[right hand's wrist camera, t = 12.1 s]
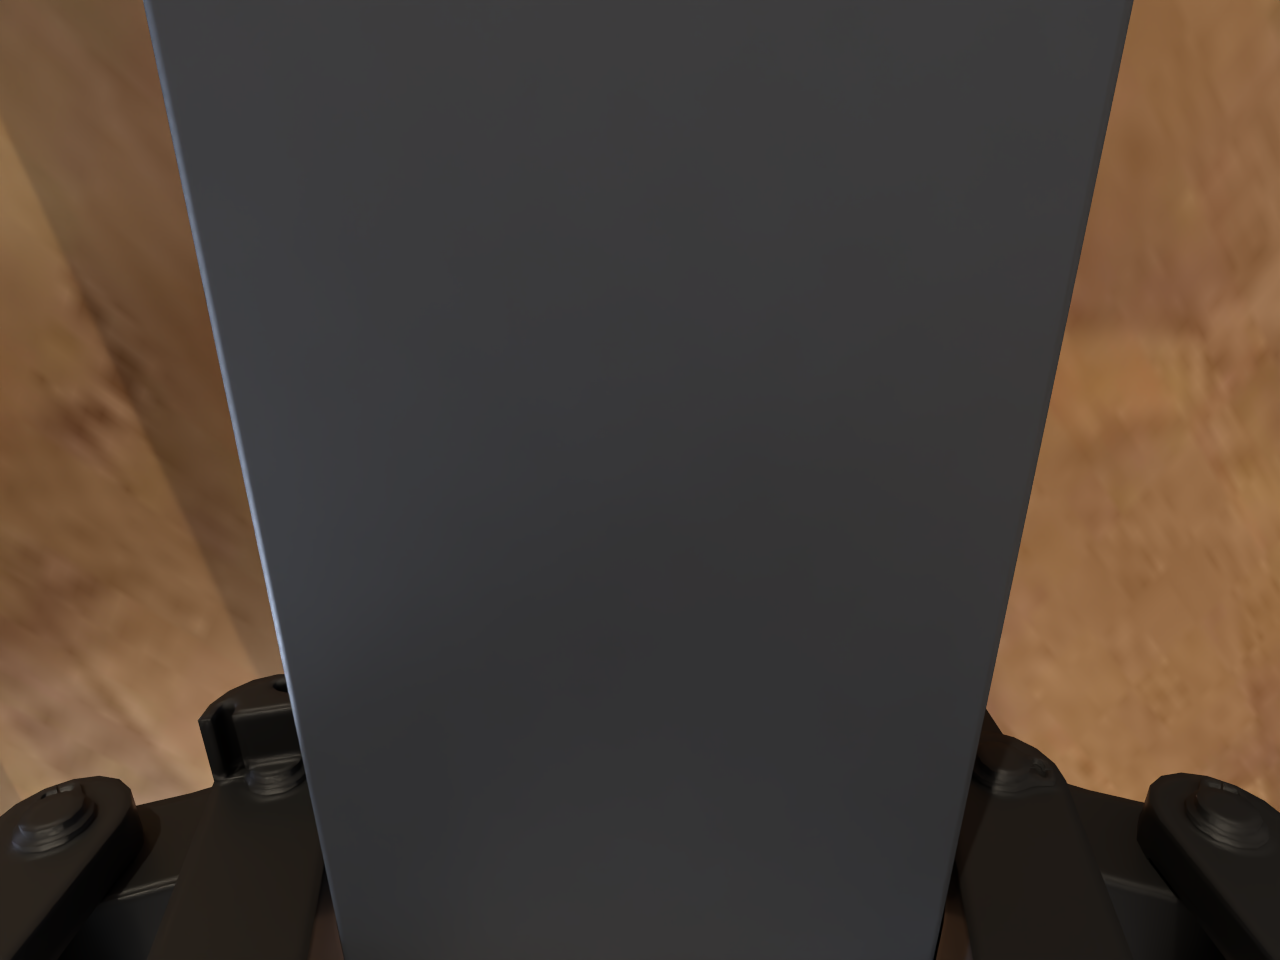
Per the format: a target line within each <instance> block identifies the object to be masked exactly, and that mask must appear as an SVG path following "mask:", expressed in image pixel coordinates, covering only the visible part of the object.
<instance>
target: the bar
mask: <svg viewBox="0 0 1280 960" xmlns="http://www.w3.org/2000/svg"><path fill="white" fill-rule="evenodd" d="M143 2H144V7H145V12H146V17H147V21H148V26H149V31H150V36H151V40H152V45H153V50H154V55H155V59H156V64H157V69H158V74H159V78H160V83H161V88H162V93H163V98H164V102H165V107H166V112H167V117H168V121H169V126H170V131H171V136H172V140H173V145H174V150H175V155H176V159H177V164H178V169H179V174H180V178H181V183H182V188H183V193H184V197H185V202H186V207H187V212H188V216H189V221H190V226H191V231H192V236H193V240H194V245H195V250H196V255H197V259H198V264H199V269H200V274H201V278H202V283H203V288H204V293H205V297H206V302H207V307H208V312H209V316H210V321H211V326H212V331H213V335H214V340H215V345H216V350H217V354H218V359H219V364H220V369H221V374H222V378H223V383H224V388H225V393H226V397H227V402H228V407H229V412H230V416H231V421H232V426H233V431H234V435H235V440H236V445H237V450H238V454H239V459H240V464H241V469H242V473H243V478H244V483H245V488H246V492H247V497H248V502H249V507H250V512H251V516H252V521H253V526H254V531H255V535H256V540H257V545H258V550H259V554H260V559H261V564H262V569H263V573H264V578H265V583H266V588H267V592H268V597H269V602H270V607H271V611H272V616H273V621H274V626H275V630H276V635H277V640H278V645H279V650H280V654H281V659H282V664H283V669H284V673H285V678H286V683H287V688H288V692H289V697H290V702H291V707H292V711H293V716H294V721H295V726H296V730H297V735H298V740H299V745H300V749H301V754H302V759H303V764H304V769H305V773H306V778H307V783H308V788H309V792H310V797H311V802H312V807H313V811H314V816H315V821H316V826H317V830H318V835H319V840H320V845H321V849H322V854H323V859H324V864H325V868H326V873H327V878H328V883H329V887H330V892H331V897H332V902H333V907H334V911H335V916H336V921H337V926H338V930H339V935H340V940H341V945H342V949H343V954H344V959H345V960H933V959H934V954H935V950H936V945H937V940H938V935H939V930H940V926H941V921H942V916H943V911H944V906H945V902H946V897H947V892H948V887H949V882H950V878H951V873H952V868H953V863H954V859H955V854H956V849H957V844H958V839H959V835H960V830H961V825H962V820H963V815H964V811H965V806H966V801H967V796H968V791H969V787H970V782H971V777H972V772H973V767H974V763H975V758H976V753H977V748H978V743H979V739H980V734H981V729H982V724H983V720H984V715H985V710H986V705H987V700H988V696H989V691H990V686H991V681H992V676H993V672H994V667H995V662H996V657H997V652H998V648H999V643H1000V638H1001V633H1002V628H1003V624H1004V619H1005V614H1006V609H1007V604H1008V600H1009V595H1010V590H1011V585H1012V580H1013V576H1014V571H1015V566H1016V561H1017V557H1018V552H1019V547H1020V542H1021V537H1022V533H1023V528H1024V523H1025V518H1026V513H1027V509H1028V504H1029V499H1030V494H1031V489H1032V485H1033V480H1034V475H1035V470H1036V465H1037V461H1038V456H1039V451H1040V446H1041V441H1042V437H1043V432H1044V427H1045V422H1046V418H1047V413H1048V408H1049V403H1050V398H1051V394H1052V389H1053V384H1054V379H1055V374H1056V370H1057V365H1058V360H1059V355H1060V350H1061V346H1062V341H1063V336H1064V331H1065V326H1066V322H1067V317H1068V312H1069V307H1070V302H1071V298H1072V293H1073V288H1074V283H1075V278H1076V274H1077V269H1078V264H1079V259H1080V255H1081V250H1082V245H1083V240H1084V235H1085V231H1086V226H1087V221H1088V216H1089V211H1090V207H1091V202H1092V197H1093V192H1094V187H1095V183H1096V178H1097V173H1098V168H1099V163H1100V159H1101V154H1102V149H1103V144H1104V139H1105V135H1106V130H1107V125H1108V120H1109V116H1110V111H1111V106H1112V101H1113V96H1114V92H1115V87H1116V82H1117V77H1118V72H1119V68H1120V63H1121V58H1122V53H1123V48H1124V44H1125V39H1126V34H1127V29H1128V24H1129V20H1130V15H1131V10H1132V5H1133V0H143Z"/></svg>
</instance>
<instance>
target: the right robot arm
mask: <svg viewBox="0 0 1280 960" xmlns="http://www.w3.org/2000/svg"><path fill="white" fill-rule="evenodd" d="M198 723H199V726H200V730H201V734H202V738H203V741H204V745H205V749H206V752H207V756H208V760H209V764H210V767H211V771H212V775H213V778H214V784H213V786H212V787H210V788H207V789H203V790H200V791H197V792H193V793H190V794H185V795H181V796H177V797H172V798H168V799H164V800H159V801H155V802H151V803H146V804H142V805H138V806H136V805H135V801H134V798H133V795H132V792H131V789H130V788H129V787H128V786H127V785H125V784H124V783H123V782H122V781H121V780H120V779H115V778H109V777H103V776H94V777H87V778H79V779H73V780H70V781H67V782H64V783H61V784H58V785H55V786H52V787H49V788H46V789H44V790H42V791H40V792H38V793H36V794H34V795H32V796H31V797H29V798H27V799H25V800H23V801H21V802H19V803H18V804H16V805H15V806H13V807H12V808H11V809H9V810H8V811H7V812H6V813H4V814H3V815H2V816H1V817H0V960H345V959H344V954H343V949H342V945H341V940H340V935H339V930H338V926H337V921H336V916H335V911H334V907H333V902H332V897H331V892H330V887H329V883H328V878H327V873H326V868H325V864H324V859H323V854H322V849H321V845H320V840H319V835H318V830H317V826H316V821H315V816H314V811H313V807H312V802H311V797H310V792H309V788H308V783H307V778H306V773H305V769H304V764H303V759H302V754H301V749H300V745H299V740H298V735H297V730H296V726H295V721H294V716H293V711H292V707H291V702H290V697H289V692H288V688H287V683H286V678H285V674H277V675H273V676H269V677H265V678H260V679H256V680H252V681H250V682H248V683H246V684H243V685H241V686H239V687H237V688H234V689H232V690H230V691H228V692H227V693H225V694H224V695H223V696H221V697H220V698H219V699H217V700H216V701H214V702H213V703H212V704H210V705H209V707H208V708H207V709H206V711H205V712H204V713H203V715H202V716H201V717H200V718H199V720H198ZM933 960H1280V813H1279V812H1278V811H1277V810H1275V809H1274V808H1273V807H1272V806H1270V805H1269V804H1268V803H1267V802H1265V801H1264V800H1262V799H1260V798H1258V797H1256V796H1254V795H1252V794H1251V793H1249V792H1247V791H1245V790H1243V789H1241V788H1239V787H1237V786H1235V785H1232V784H1229V783H1227V782H1223V781H1220V780H1217V779H1214V778H1211V777H1208V776H1203V775H1195V774H1188V773H1176V774H1170V775H1164V776H1161V777H1159V778H1158V779H1157V780H1156V781H1155V782H1154V783H1152V784H1151V785H1150V787H1149V790H1148V793H1147V797H1146V800H1145V803H1143V802H1139V801H1134V800H1130V799H1125V798H1121V797H1117V796H1112V795H1108V794H1104V793H1099V792H1095V791H1090V790H1087V789H1083V788H1080V787H1077V786H1073V785H1070V784H1067V782H1066V780H1065V778H1064V777H1063V775H1062V774H1061V772H1060V771H1059V769H1058V768H1057V766H1056V765H1055V763H1053V762H1052V761H1051V760H1050V759H1049V758H1047V757H1046V756H1045V755H1044V754H1042V753H1041V752H1040V751H1039V750H1038V749H1036V748H1034V747H1032V746H1030V745H1028V744H1026V743H1024V742H1022V741H1020V740H1018V739H1016V738H1014V737H1011V736H1007V735H1003V734H1002V732H1001V731H1000V729H999V728H998V726H997V725H996V723H995V722H994V720H993V719H992V717H991V716H990V714H989V713H988V711H987V710H985V715H984V720H983V724H982V729H981V734H980V739H979V743H978V748H977V753H976V758H975V763H974V767H973V772H972V777H971V782H970V787H969V791H968V796H967V801H966V806H965V811H964V815H963V820H962V825H961V830H960V835H959V839H958V844H957V849H956V854H955V859H954V863H953V868H952V873H951V878H950V882H949V887H948V892H947V897H946V902H945V906H944V911H943V916H942V921H941V926H940V930H939V935H938V940H937V945H936V950H935V954H934V959H933Z"/></svg>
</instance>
